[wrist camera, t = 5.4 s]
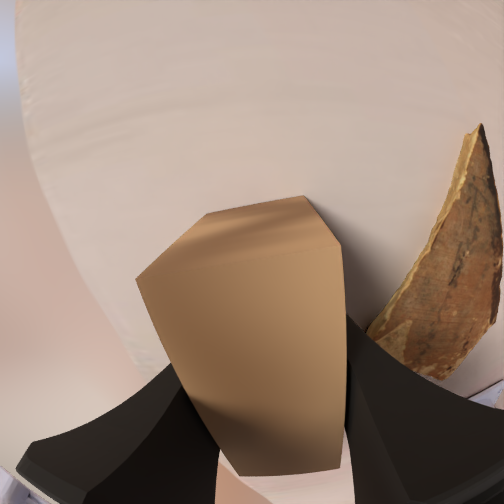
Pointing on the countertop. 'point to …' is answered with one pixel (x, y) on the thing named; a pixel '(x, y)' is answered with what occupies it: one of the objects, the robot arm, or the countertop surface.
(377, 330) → the shard
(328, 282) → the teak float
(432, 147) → the countertop surface
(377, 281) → the countertop surface
